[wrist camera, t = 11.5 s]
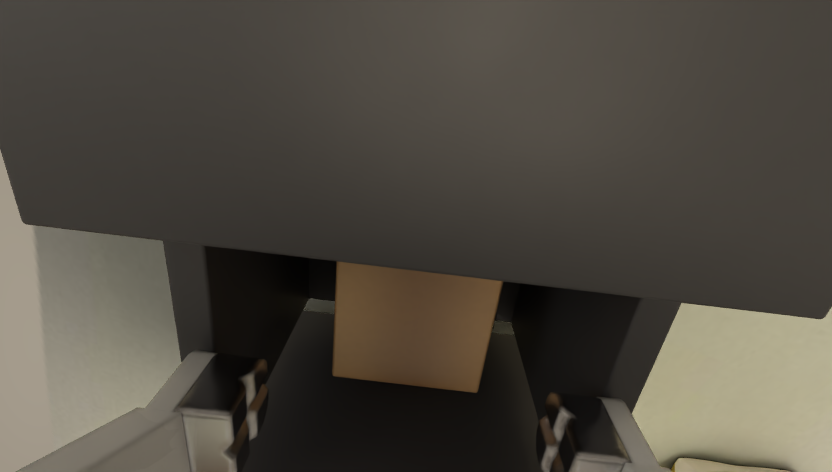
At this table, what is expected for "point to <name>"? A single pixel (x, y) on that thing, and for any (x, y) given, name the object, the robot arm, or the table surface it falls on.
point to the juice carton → (714, 467)
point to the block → (412, 326)
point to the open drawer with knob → (396, 403)
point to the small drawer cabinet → (442, 136)
